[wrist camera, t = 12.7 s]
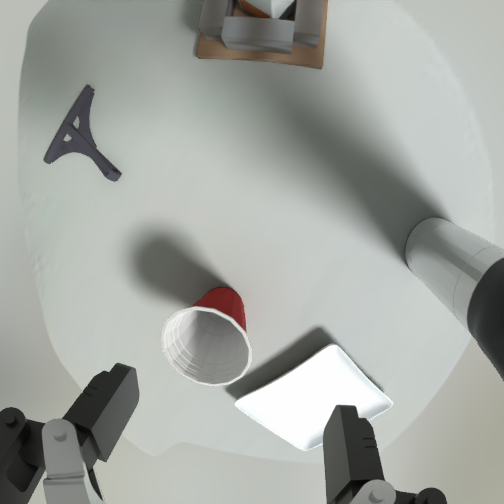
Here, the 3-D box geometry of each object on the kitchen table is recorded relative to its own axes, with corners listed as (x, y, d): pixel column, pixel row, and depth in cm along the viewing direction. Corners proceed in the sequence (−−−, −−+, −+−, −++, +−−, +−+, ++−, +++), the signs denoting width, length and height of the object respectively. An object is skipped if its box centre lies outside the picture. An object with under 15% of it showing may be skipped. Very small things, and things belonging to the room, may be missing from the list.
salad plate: (304, 441, 52) (305, 453, 49) (233, 391, 49) (230, 405, 45) (392, 393, 46) (396, 405, 43) (330, 328, 43) (333, 341, 39)
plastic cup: (235, 255, 40) (217, 293, 29) (273, 317, 42) (270, 369, 31) (173, 288, 43) (140, 331, 31) (213, 343, 45) (194, 395, 34)
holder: (327, -19, 26) (333, -40, 21) (321, 69, 31) (327, 55, 26) (217, -27, 27) (208, -47, 22) (198, 58, 32) (186, 44, 27)
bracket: (99, 213, 41) (89, 217, 38) (48, 158, 39) (37, 159, 36) (151, 137, 37) (142, 137, 34) (91, 85, 35) (81, 82, 32)
